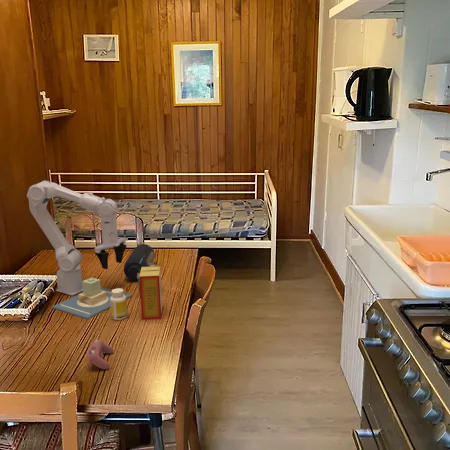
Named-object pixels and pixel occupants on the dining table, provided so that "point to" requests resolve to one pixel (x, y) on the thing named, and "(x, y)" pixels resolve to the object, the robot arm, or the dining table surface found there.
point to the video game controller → (99, 353)
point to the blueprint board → (87, 304)
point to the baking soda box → (151, 292)
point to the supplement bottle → (118, 304)
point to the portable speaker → (138, 260)
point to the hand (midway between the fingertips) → (112, 265)
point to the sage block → (91, 286)
